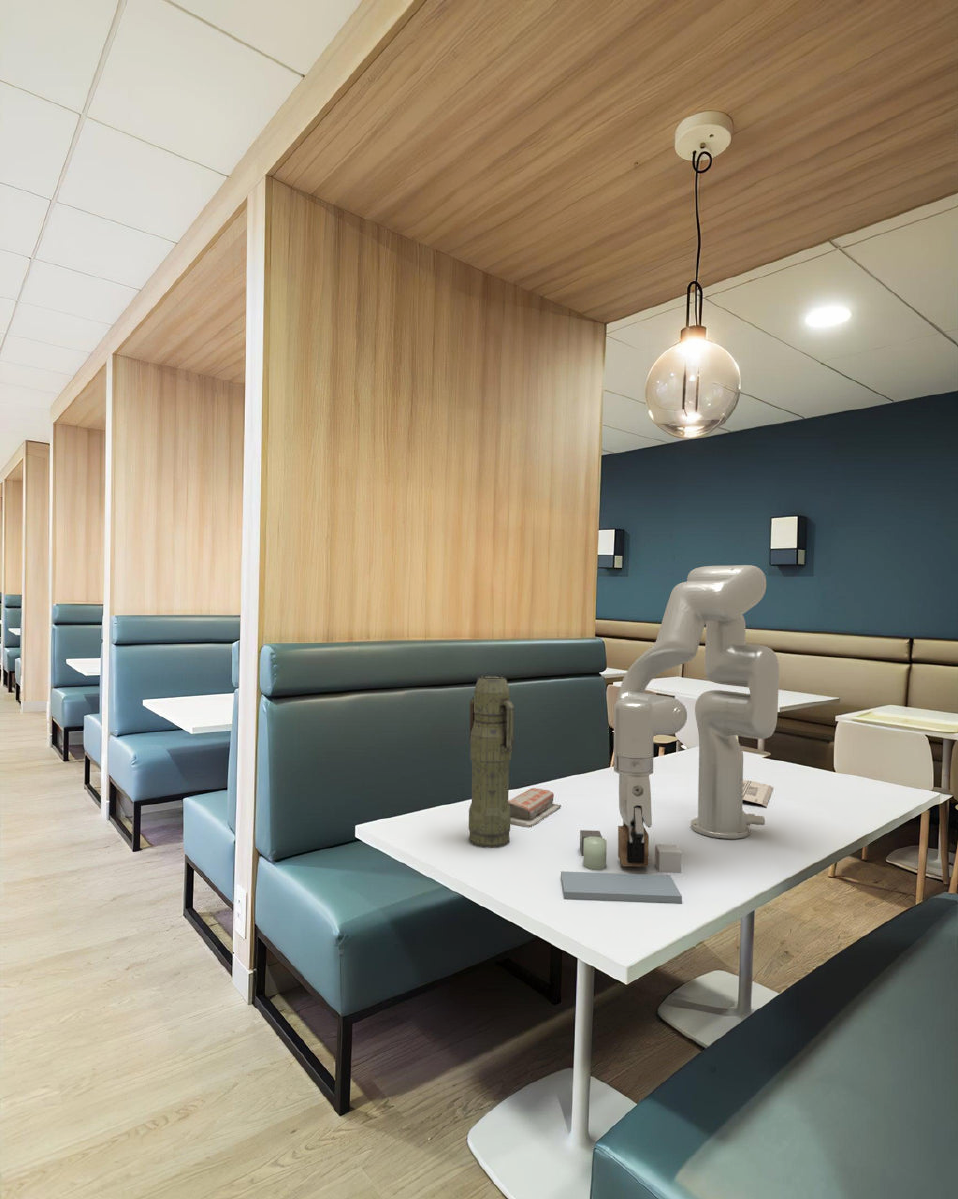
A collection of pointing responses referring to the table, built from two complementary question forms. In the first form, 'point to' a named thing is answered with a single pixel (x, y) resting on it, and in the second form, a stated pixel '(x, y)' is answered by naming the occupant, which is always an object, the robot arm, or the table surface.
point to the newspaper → (756, 792)
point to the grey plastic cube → (668, 858)
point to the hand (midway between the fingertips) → (633, 856)
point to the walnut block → (622, 847)
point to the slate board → (620, 887)
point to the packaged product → (532, 807)
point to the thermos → (490, 762)
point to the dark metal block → (587, 834)
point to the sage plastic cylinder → (594, 853)
